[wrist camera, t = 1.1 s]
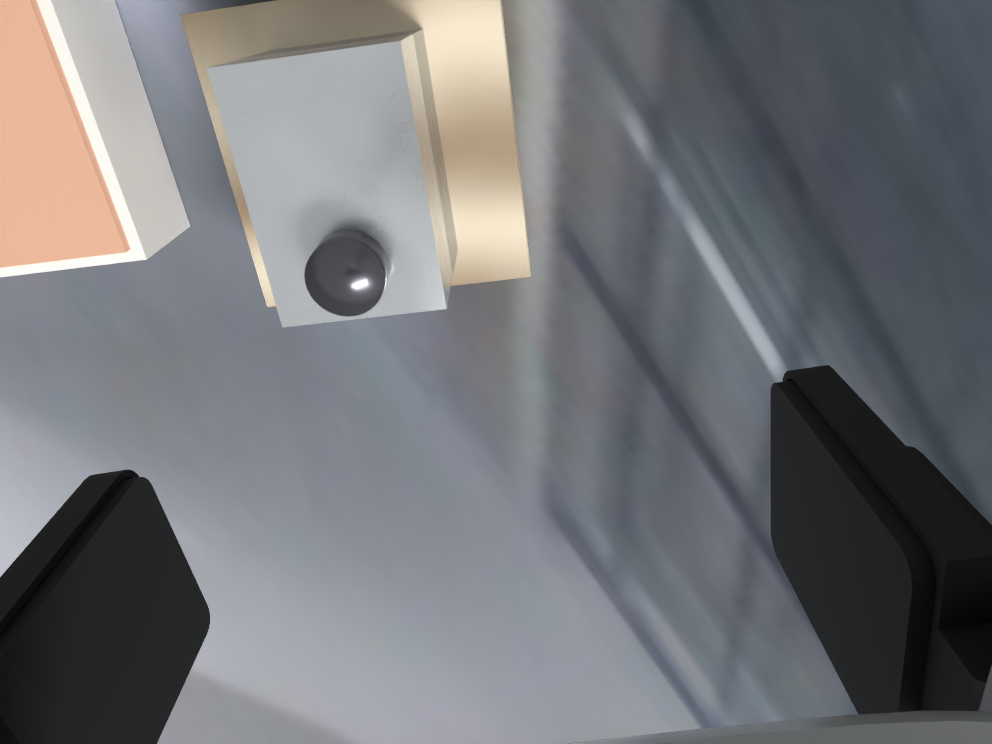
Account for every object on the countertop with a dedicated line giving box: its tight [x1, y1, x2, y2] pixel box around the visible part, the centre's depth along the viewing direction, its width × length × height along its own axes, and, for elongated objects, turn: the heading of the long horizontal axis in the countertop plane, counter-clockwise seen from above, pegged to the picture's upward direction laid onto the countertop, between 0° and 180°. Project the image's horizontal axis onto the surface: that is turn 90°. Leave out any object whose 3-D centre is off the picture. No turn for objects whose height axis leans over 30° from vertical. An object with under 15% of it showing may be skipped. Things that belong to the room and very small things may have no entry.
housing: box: [207, 29, 458, 327], centre depth 24 cm, size 8×6×7 cm
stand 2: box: [180, 0, 531, 307], centre depth 29 cm, size 11×11×5 cm
